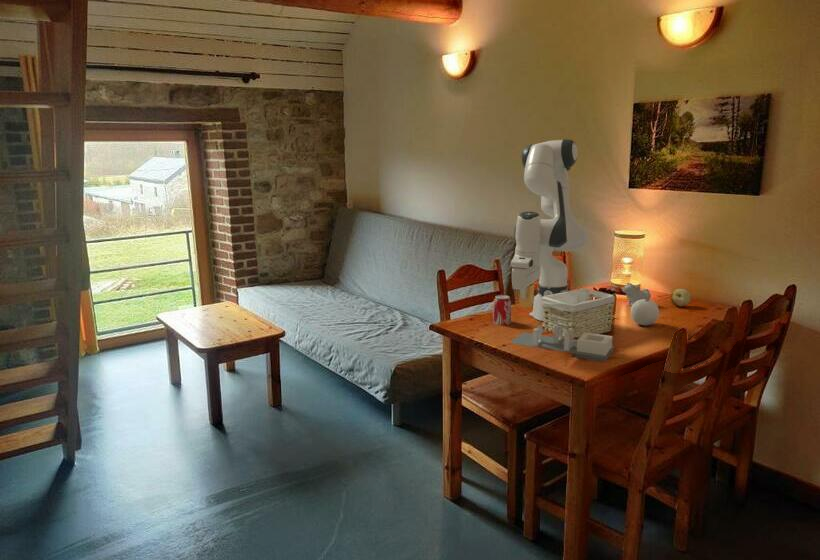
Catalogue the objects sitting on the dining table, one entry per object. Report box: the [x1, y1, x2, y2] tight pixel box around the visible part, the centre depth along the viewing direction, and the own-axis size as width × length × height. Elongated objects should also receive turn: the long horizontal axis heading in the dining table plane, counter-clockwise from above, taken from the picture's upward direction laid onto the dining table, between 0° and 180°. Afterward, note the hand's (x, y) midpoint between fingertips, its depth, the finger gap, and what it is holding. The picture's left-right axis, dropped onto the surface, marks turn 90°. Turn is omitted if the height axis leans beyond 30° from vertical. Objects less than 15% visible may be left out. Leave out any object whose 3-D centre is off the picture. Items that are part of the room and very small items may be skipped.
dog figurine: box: [621, 282, 652, 309], centre depth 264 cm, size 5×13×11 cm, turn 95°
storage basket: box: [542, 287, 616, 339], centre depth 228 cm, size 24×16×15 cm
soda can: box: [492, 294, 512, 326], centre depth 238 cm, size 7×7×12 cm
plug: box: [511, 283, 535, 309], centre depth 216 cm, size 4×7×8 cm, turn 60°
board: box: [509, 323, 615, 363], centre depth 211 cm, size 14×33×8 cm, turn 60°
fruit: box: [670, 288, 692, 308], centre depth 263 cm, size 8×8×8 cm
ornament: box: [630, 295, 660, 327], centre depth 236 cm, size 10×10×12 cm
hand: (526, 296), depth 216 cm, fingers closed on plug, 4 cm apart
